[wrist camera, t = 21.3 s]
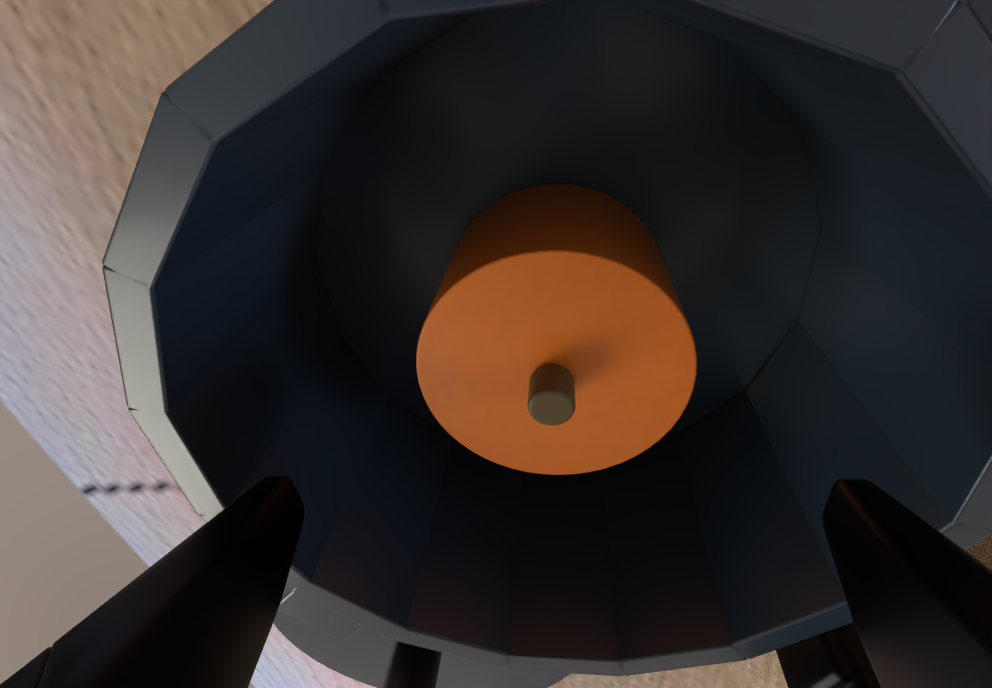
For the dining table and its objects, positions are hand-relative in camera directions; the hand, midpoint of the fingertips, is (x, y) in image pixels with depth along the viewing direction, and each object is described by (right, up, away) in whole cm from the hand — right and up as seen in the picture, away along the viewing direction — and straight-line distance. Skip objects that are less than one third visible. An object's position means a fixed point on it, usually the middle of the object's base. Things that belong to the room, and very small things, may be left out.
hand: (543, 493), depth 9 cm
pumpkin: (+1, +4, +6) cm, 8 cm away
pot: (+1, +4, +7) cm, 8 cm away
